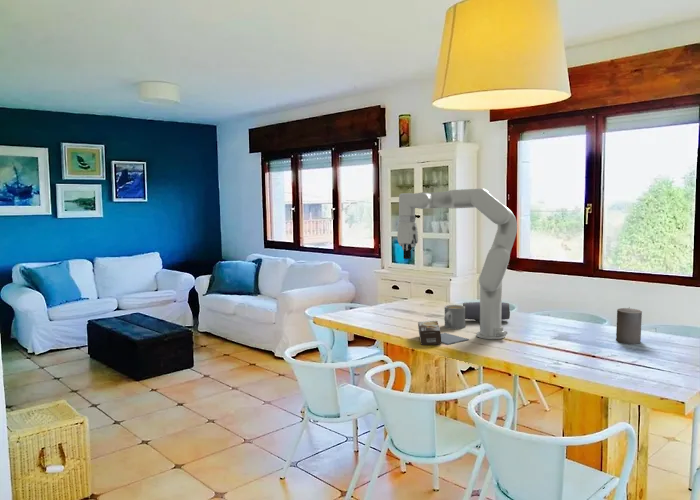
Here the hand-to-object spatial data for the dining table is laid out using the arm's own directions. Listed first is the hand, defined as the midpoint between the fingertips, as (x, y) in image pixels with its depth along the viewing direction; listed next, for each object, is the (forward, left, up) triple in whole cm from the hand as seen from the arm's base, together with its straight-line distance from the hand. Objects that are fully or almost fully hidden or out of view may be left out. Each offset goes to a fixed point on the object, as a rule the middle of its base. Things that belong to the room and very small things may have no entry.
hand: (407, 258), depth 261 cm
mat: (-21, -5, -35) cm, 41 cm away
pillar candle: (-73, -63, -36) cm, 103 cm away
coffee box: (-12, -2, -31) cm, 33 cm away
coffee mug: (-6, -24, -36) cm, 43 cm away
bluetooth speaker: (-7, -47, -36) cm, 59 cm away
